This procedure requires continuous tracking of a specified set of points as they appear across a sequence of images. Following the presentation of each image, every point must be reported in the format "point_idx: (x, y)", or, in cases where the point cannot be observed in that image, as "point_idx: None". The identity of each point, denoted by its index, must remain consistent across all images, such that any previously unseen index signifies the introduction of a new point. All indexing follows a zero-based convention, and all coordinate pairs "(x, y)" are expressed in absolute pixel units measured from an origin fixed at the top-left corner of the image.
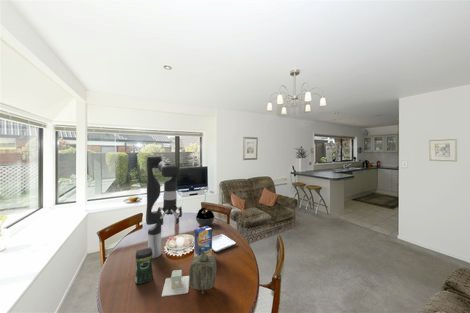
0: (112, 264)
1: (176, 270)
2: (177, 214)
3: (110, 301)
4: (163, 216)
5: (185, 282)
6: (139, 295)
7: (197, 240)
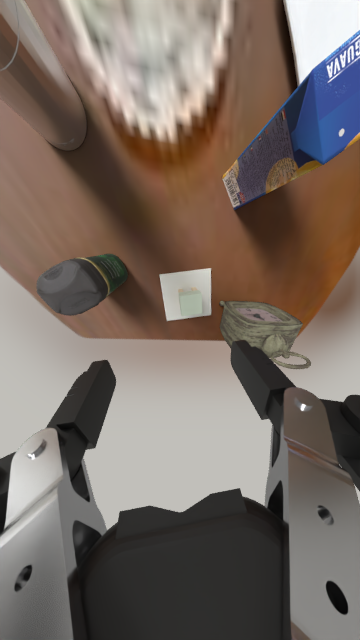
0: None
1: (189, 295)
2: (317, 443)
3: (82, 326)
4: (90, 500)
5: (204, 290)
6: (126, 316)
7: (275, 168)
